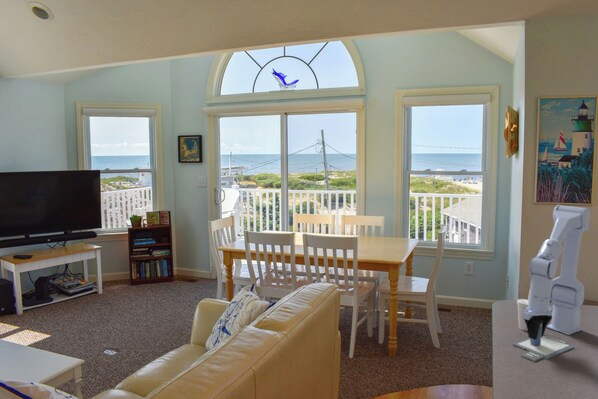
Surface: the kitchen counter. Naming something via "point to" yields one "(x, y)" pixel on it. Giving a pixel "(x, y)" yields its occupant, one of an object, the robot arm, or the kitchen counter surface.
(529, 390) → the kitchen counter surface
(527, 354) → the word card
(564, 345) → the clipboard
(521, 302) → the smoothie
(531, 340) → the blue bottle
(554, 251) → the robot arm
